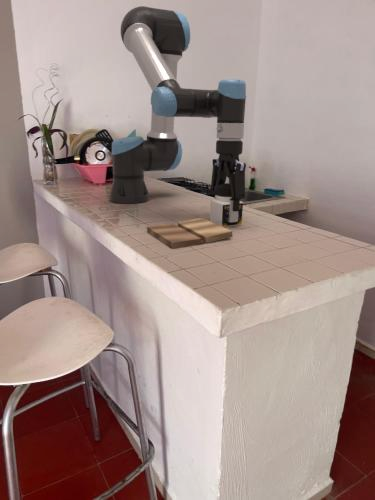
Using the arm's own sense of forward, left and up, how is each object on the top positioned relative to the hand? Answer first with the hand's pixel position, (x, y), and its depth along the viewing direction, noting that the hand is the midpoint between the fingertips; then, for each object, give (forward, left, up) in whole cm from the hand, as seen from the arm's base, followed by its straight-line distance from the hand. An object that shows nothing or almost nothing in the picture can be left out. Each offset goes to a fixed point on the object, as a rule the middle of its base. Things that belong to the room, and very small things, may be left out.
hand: (225, 218), depth 113 cm
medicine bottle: (0, 0, -2) cm, 2 cm away
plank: (+6, -11, -1) cm, 13 cm away
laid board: (+6, -20, -2) cm, 21 cm away
